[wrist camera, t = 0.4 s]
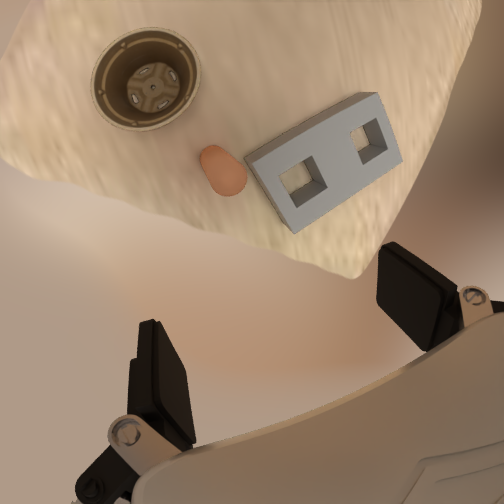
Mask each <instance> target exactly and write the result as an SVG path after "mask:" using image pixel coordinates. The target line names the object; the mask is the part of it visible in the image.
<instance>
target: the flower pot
mask: <svg viewBox="0 0 504 504" xmlns="http://www.w3.org/2000/svg"><path fill="white" fill-rule="evenodd" d="M146 68H148V69H149V70H147V71H146V72H144V73H142V74H140V72H141V71H142V70H144V69H146ZM170 71H172V72H173V73H174V74H175V76H176V80H175V81H174V80H173V78H172V76H171V75H170V73H169V72H170ZM200 78H201V67H200V61H199V58H198V56H197V53H196V51H195V50H194V48H193V47H192V45H191V44H190V43H189V42H188V41H187V40H186V39H185V38H184V37H182V36H181V35H179V34H178V33H176V32H173V31H171V30H168V29H164V28H158V27H147V28H140V29H136V30H133V31H130V32H128V33H126V34H124V35H122V36H120V37H119V38H117V39H116V40H114V41H113V42H112V43H111V44H110V45H109V46H108V47H107V48H106V49H105V50H104V51H103V53H102V54H101V56H100V57H99V58H98V60H97V62H96V64H95V67H94V69H93V72H92V77H91V96H92V99H93V103H94V105H95V107H96V109H97V111H98V112H99V113H100V115H101V116H102V117H103V118H104V119H105V120H106V121H108V122H109V123H111V124H112V125H114V126H116V127H118V128H121V129H123V130H128V131H136V132H139V131H149V130H153V129H156V128H159V127H162V126H164V125H166V124H168V123H170V122H171V121H173V120H174V119H176V118H177V117H178V116H180V115H181V114H182V113H183V112H184V111H185V110H186V109H187V108H188V106H189V105H190V104H191V102H192V101H193V99H194V97H195V95H196V93H197V90H198V88H199V84H200ZM152 85H154V86H155V88H154V89H152V88H151V86H152ZM132 94H135V95H136V97H137V99H138V100H139V102H138V103H134V101H133V98H132ZM165 101H168V103H167V104H166V105H165V106H163V107H162V108H160V109H159V108H158V105H160V104H162V103H164V102H165Z"/></svg>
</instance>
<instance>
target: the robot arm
mask: <svg viewBox="0 0 504 504" xmlns="http://www.w3.org/2000/svg"><path fill="white" fill-rule="evenodd" d="M377 279H378V280H377V295H376V300H377V304H378V305H379V306H380V308H381V309H382V310H383V311H384V312H385V313H386V314H387V315H388V316H389V317H390V318H391V319H392V320H393V321H394V322H395V323H396V324H397V325H398V326H399V327H400V328H401V329H402V330H403V331H404V332H405V333H406V334H407V335H408V336H409V337H410V338H411V340H413V342H414V343H415V344H416V345H417V346H418V347H419V348H420V349H421V350H422V351H426V352H427V353H425V354H423V355H422V356H420V357H418V358H417V359H415V360H413V361H412V362H410V363H408V364H407V365H405V366H403V367H401V368H399V369H398V370H396V371H394V372H392V373H390V374H389V375H387V376H385V377H383V378H381V379H379V380H377V381H375V382H373V383H371V384H369V385H367V386H365V387H363V388H361V389H359V390H357V391H355V392H353V393H351V394H349V395H346V396H344V397H342V398H340V399H337V400H335V401H333V402H331V403H328V404H326V405H324V406H321V407H319V408H316V409H314V410H311V411H309V412H306V413H304V414H301V415H298V416H296V417H293V418H291V419H288V420H285V421H282V422H279V423H276V424H273V425H270V426H267V427H264V428H261V429H258V430H255V431H252V432H249V433H245V434H242V435H239V436H235V437H232V438H228V439H224V440H221V441H217V442H214V443H211V444H207V445H203V446H200V447H196V448H193V445H192V444H195V443H196V436H195V430H194V424H193V417H192V411H191V404H190V398H189V390H188V383H187V375H186V370H185V368H184V365H183V364H182V362H181V360H180V358H179V356H178V354H177V352H176V351H175V349H174V347H173V345H172V343H171V341H170V339H169V337H168V335H167V333H166V331H165V329H164V327H163V325H162V324H161V322H160V321H158V322H156V321H155V320H154V319H151V320H148V321H143V322H140V324H139V335H138V347H137V358H134V359H132V360H131V361H130V369H129V385H128V404H127V415H124V416H121V417H119V418H117V419H116V420H115V421H114V422H113V423H112V424H111V425H110V428H109V430H108V441H109V443H110V446H109V447H108V448H107V449H106V450H105V451H104V452H103V453H102V454H101V455H100V456H99V457H98V458H97V459H96V460H95V461H94V462H93V463H92V464H91V466H89V467H88V468H87V470H86V471H85V472H84V473H83V474H82V475H81V476H80V477H79V478H78V480H77V482H76V485H75V492H76V496H77V498H78V499H77V500H76V502H73V501H72V503H71V504H504V302H501V301H492V300H490V299H489V296H488V294H487V293H486V292H485V291H484V290H483V289H481V288H479V287H476V286H466V287H463V288H462V289H461V290H460V292H457V285H456V284H454V283H453V282H452V281H450V280H449V279H448V278H446V277H445V276H444V275H442V274H441V273H439V272H438V271H437V270H435V269H434V268H432V267H431V266H430V265H428V264H427V263H425V262H424V261H422V260H421V259H420V258H418V257H417V256H415V255H414V254H412V253H411V252H409V251H408V250H406V249H405V248H403V247H402V246H400V245H399V244H397V243H396V242H390V243H387V244H384V245H382V247H381V249H380V250H379V254H378V278H377Z"/></svg>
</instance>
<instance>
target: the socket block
mask: <svg viewBox="0 0 504 504" xmlns="http://www.w3.org/2000/svg"><path fill="white" fill-rule="evenodd" d="M362 125H363V128H364V130H365V132H366V135H367V137H368V140H369V142H370V145H368V146H367V147H365V148H364V149H362V150H360V151H359V152H357V150H356V147H355V145H354V143H353V140H352V138H351V136H350V132H352V131H353V130H355V129H357V128H359V127H360V126H362ZM244 159H245V161H246V163H247V164H248V166H249V167H250V169H251V171H252V172H253V174H254V175H255V177H256V179H257V180H258V182H259V183H260V185H261V187H262V188H263V190H264V192H265V193H266V195H267V197H268V198H269V200H270V201H271V203H272V205H273V206H274V208H275V210H276V211H277V213H278V215H279V216H280V218H281V220H282V222H283V223H284V224H285V225H286V226H287V227H288V228H289V229H290V230H291V232H292V233H293V234H296V233H297V232H299V231H300V230H302V229H303V228H305V227H306V226H308V225H309V224H311V223H312V222H314V221H315V220H317V219H318V218H320V217H321V216H323V215H324V214H326V213H327V212H329V211H330V210H332V209H333V208H335V207H336V206H338V205H339V204H341V203H342V202H344V201H345V200H347V199H348V198H350V197H351V196H353V195H354V194H356V193H357V192H359V191H360V190H362V189H363V188H365V187H366V186H367V185H369V184H370V183H372V182H373V181H375V180H376V179H378V178H379V177H381V176H382V175H384V174H385V173H387V172H388V171H390V170H391V169H393V168H394V167H396V166H397V165H399V164H400V163H401V162H403V160H402V157H401V154H400V151H399V147H398V144H397V142H396V139H395V136H394V133H393V130H392V127H391V125H390V122H389V119H388V117H387V114H386V111H385V109H384V106H383V104H382V102H381V99H380V97H379V94H378V92H359V93H357V94H355V95H353V96H351V97H350V98H348V99H346V100H344V101H342V102H340V103H338V104H336V105H334V106H332V107H330V108H328V109H327V110H325V111H323V112H321V113H319V114H317V115H316V116H314V117H312V118H310V119H308V120H307V121H305V122H303V123H301V124H300V125H298V126H296V127H294V128H293V129H291V130H289V131H287V132H286V133H284V134H282V135H281V136H279V137H277V138H276V139H274V140H272V141H271V142H269V143H267V144H266V145H264V146H262V147H261V148H259V149H257V150H256V151H254V152H253V153H251V154H249V155H248V156H246V157H245V158H244ZM302 161H304V162H305V164H306V166H307V168H308V170H309V172H310V174H311V176H312V178H313V181H311V182H309V183H308V184H306V185H305V186H303V187H302V188H300V189H298V190H297V191H295V192H294V193H292V194H291V195H289V194H288V192H287V190H286V189H285V187H284V185H283V183H282V182H281V180H280V178H279V175H281V174H282V173H284V172H285V171H287V170H289V169H290V168H292V167H293V166H295V165H297V164H298V163H300V162H302Z"/></svg>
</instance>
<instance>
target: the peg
mask: <svg viewBox="0 0 504 504" xmlns="http://www.w3.org/2000/svg"><path fill="white" fill-rule="evenodd" d="M200 163H201V165H202V167H203V169H204V171H205V174H206V176H207V178H208V180H209V182H210V184H211V186H212V188H213V190H214V191H215V192H216V193H218V194H220V195H222V196H233V195H236V194H238V193H239V192H241V191H242V190H243V188H244V187H245V185H246V182H247V172H246V169H245V168H244V166H243V165H242V164H241V163H239V162H238V161H237V160H236V159H234V158H233V157H232V156H230V155H229V154H228V153H227V152H225V151H224V150H223V149H221V148H220V147H218V146H209V147H206V148H205V149H204V150H203V151H202V153H201V155H200Z"/></svg>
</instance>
